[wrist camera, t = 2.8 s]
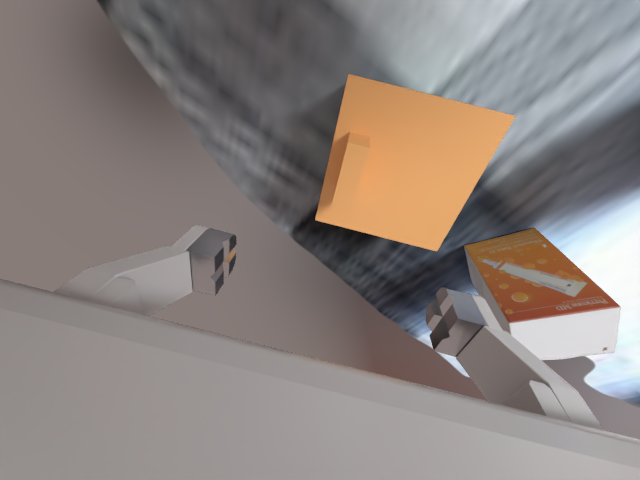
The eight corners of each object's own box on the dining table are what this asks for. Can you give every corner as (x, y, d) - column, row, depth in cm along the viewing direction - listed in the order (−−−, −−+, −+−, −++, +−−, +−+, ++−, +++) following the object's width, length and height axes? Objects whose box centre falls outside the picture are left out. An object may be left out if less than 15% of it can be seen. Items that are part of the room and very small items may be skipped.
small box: (534, 225, 31) (625, 306, 20) (536, 265, 34) (618, 354, 23) (461, 244, 34) (508, 324, 23) (469, 279, 37) (514, 365, 26)
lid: (503, 112, 20) (548, 125, 15) (432, 240, 27) (448, 277, 22) (349, 73, 20) (345, 73, 16) (317, 211, 27) (307, 241, 22)
